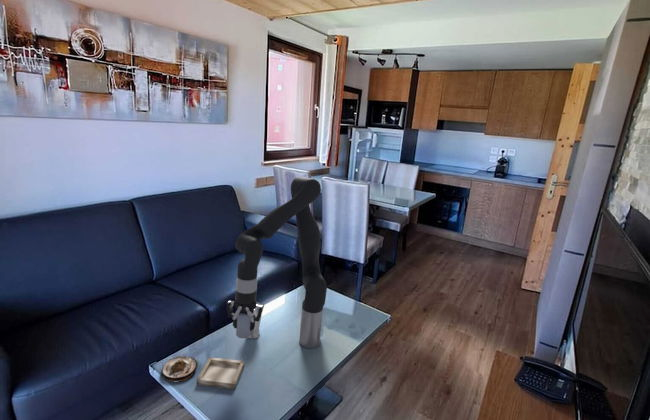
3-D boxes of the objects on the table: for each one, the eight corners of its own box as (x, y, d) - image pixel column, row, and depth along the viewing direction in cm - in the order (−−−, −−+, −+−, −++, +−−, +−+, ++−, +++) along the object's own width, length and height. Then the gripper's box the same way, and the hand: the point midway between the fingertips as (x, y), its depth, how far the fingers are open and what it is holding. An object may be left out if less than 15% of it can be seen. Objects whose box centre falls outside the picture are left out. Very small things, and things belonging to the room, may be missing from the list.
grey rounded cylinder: (252, 330, 129) (254, 310, 127) (248, 339, 124) (250, 317, 122) (238, 328, 129) (240, 308, 127) (234, 337, 124) (235, 315, 122)
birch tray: (244, 366, 132) (244, 361, 131) (234, 389, 120) (234, 383, 120) (209, 362, 133) (209, 357, 132) (196, 384, 121) (196, 379, 120)
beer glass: (256, 341, 148) (258, 311, 144) (242, 338, 149) (243, 308, 145) (262, 332, 154) (264, 303, 150) (248, 329, 155) (249, 300, 152)
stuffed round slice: (191, 388, 120) (190, 378, 119) (150, 384, 120) (149, 374, 119) (206, 360, 134) (206, 351, 133) (170, 356, 134) (169, 347, 133)
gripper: (268, 285, 125) (264, 325, 129) (230, 280, 126) (228, 320, 130) (263, 295, 118) (259, 337, 122) (223, 289, 119) (221, 331, 123)
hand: (243, 328), depth 126 cm, fingers closed on grey rounded cylinder, 5 cm apart
